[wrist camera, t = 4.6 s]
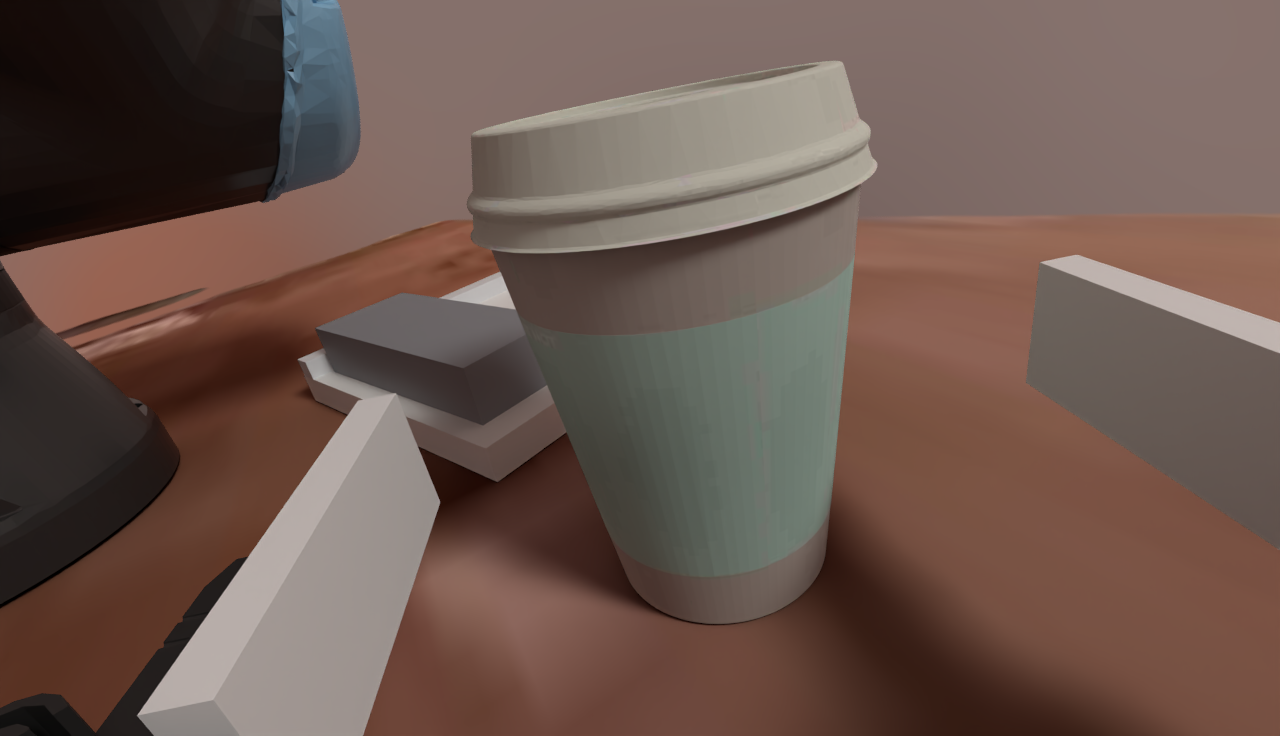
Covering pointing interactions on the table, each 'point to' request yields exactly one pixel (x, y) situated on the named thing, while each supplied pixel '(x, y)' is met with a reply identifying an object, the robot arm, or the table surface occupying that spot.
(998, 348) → the table surface
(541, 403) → the rail plate
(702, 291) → the coffee cup
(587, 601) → the table surface
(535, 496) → the table surface
